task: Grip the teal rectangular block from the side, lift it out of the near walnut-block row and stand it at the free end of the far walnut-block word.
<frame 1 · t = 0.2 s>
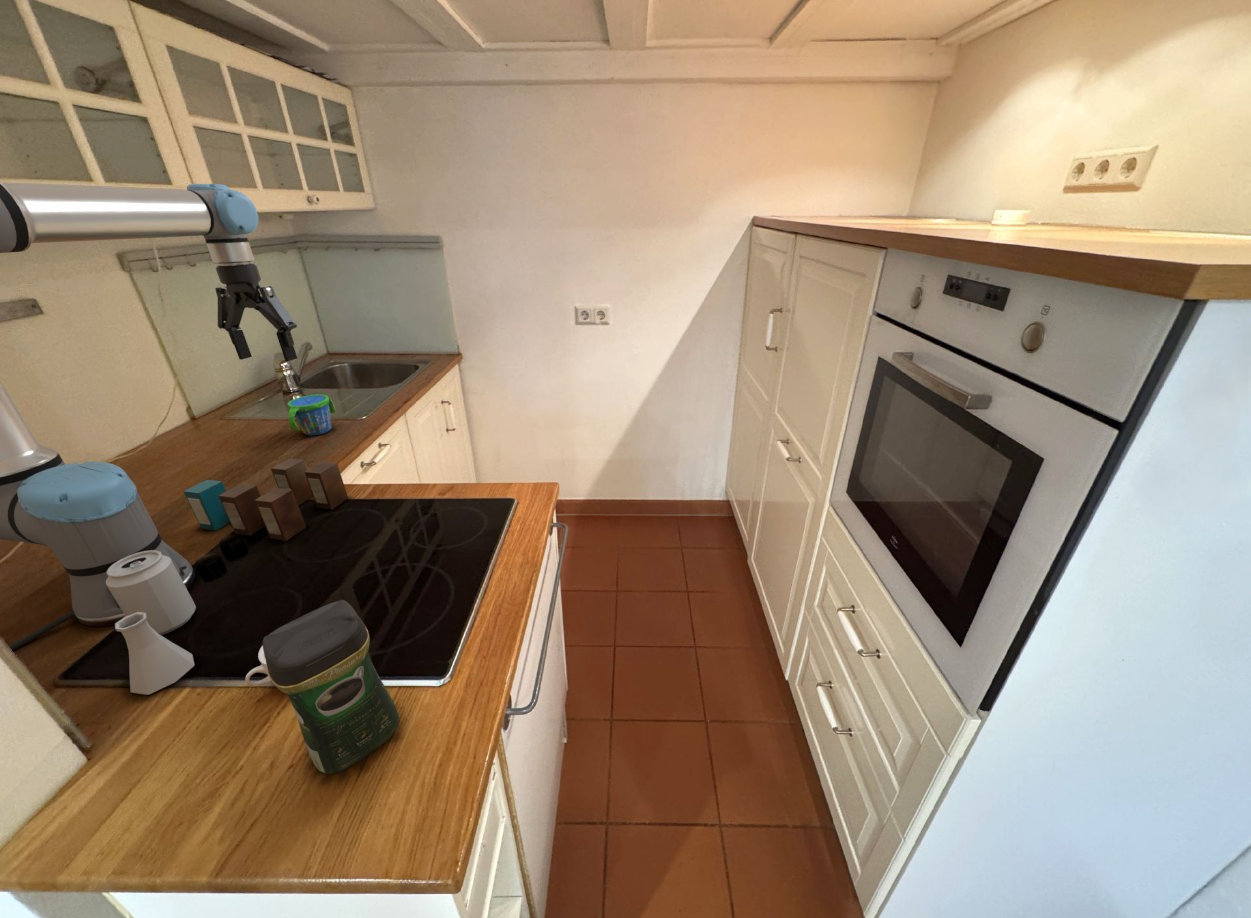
hand: (268, 359, 119), 28 cm above the worktop, tool pointing down, fingers open, 13 cm apart
left A: (253, 527, 104), on the worktop
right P: (332, 502, 112), on the worktop
flask: (164, 674, 70), on the worktop
coffee jar: (357, 738, 61), on the worktop
snack cup: (318, 432, 151), on the worktop
teacup: (296, 676, 69), on the worktop
brown wooden block: (288, 532, 102), on the worktop
right U: (300, 498, 114), on the worktop
teal rectangular block: (219, 523, 106), on the worktop
can: (169, 623, 80), on the worktop
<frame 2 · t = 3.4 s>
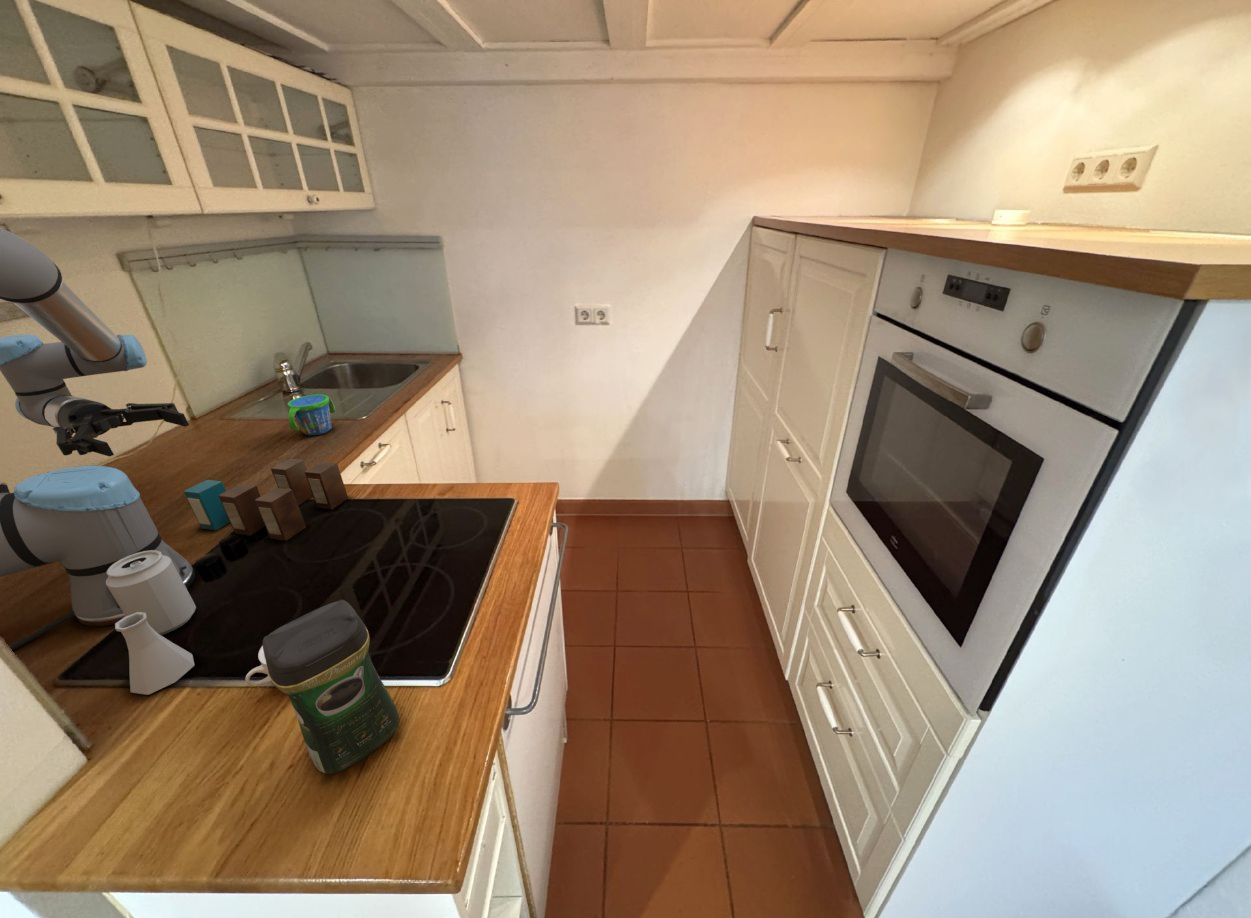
hand: (148, 434, 100), 20 cm above the worktop, tool horizontal, fingers open, 13 cm apart
nothing on the worktop moved.
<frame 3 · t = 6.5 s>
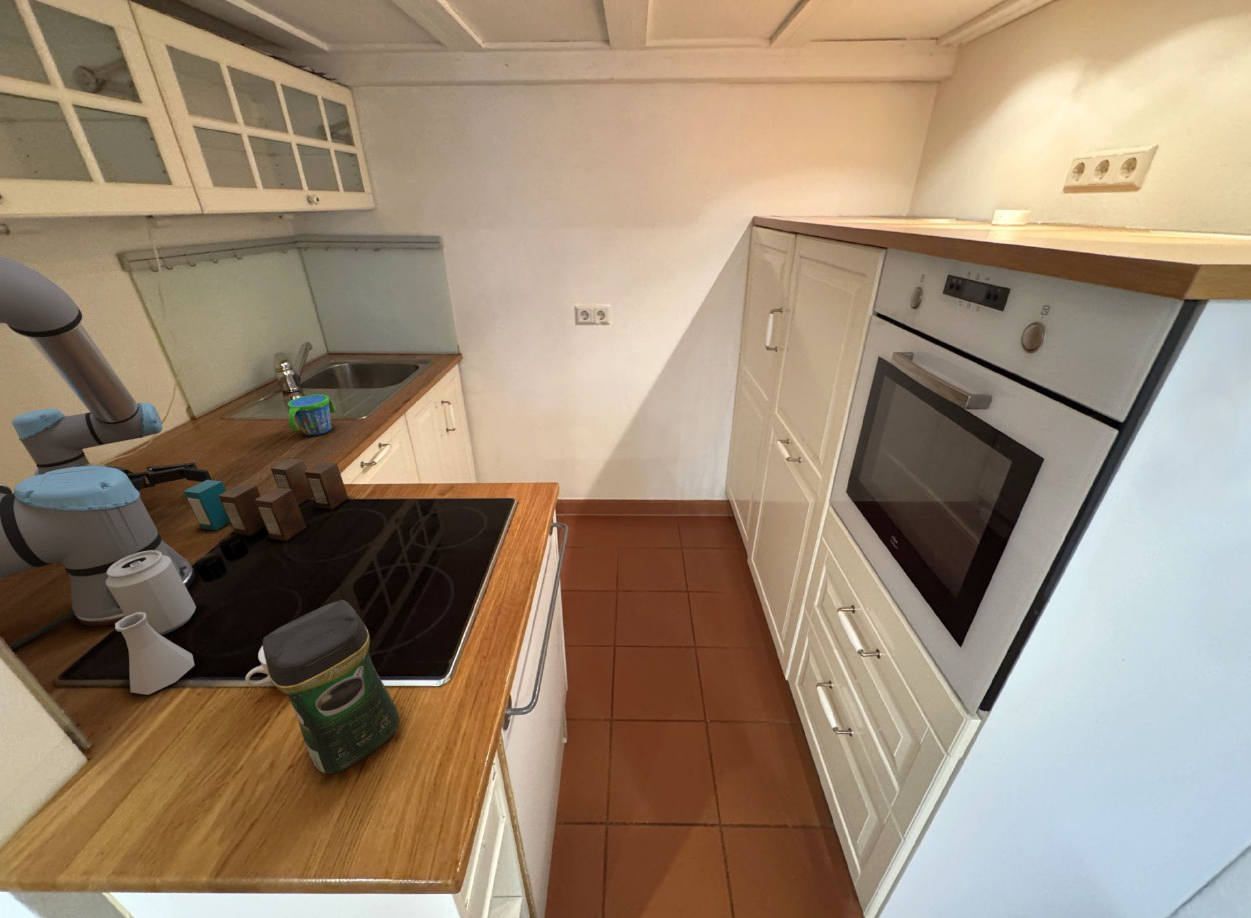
hand: (177, 491, 105), 7 cm above the worktop, tool horizontal, fingers open, 13 cm apart
nothing on the worktop moved.
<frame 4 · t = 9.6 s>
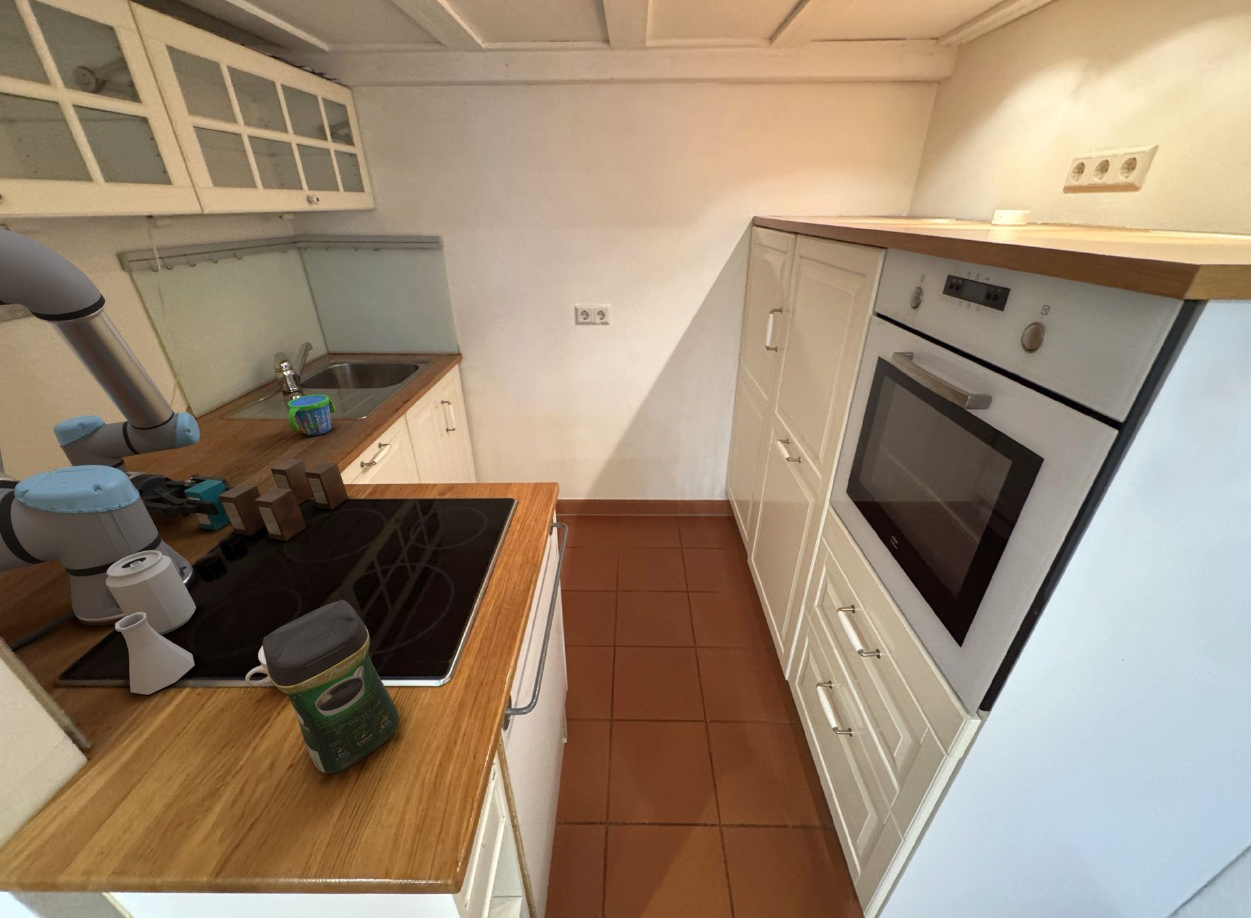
hand: (228, 501, 102), 6 cm above the worktop, tool horizontal, fingers closed on teal rectangular block, 5 cm apart
teal rectangular block: (220, 523, 106), on the worktop, touching gripper
everything else where it was.
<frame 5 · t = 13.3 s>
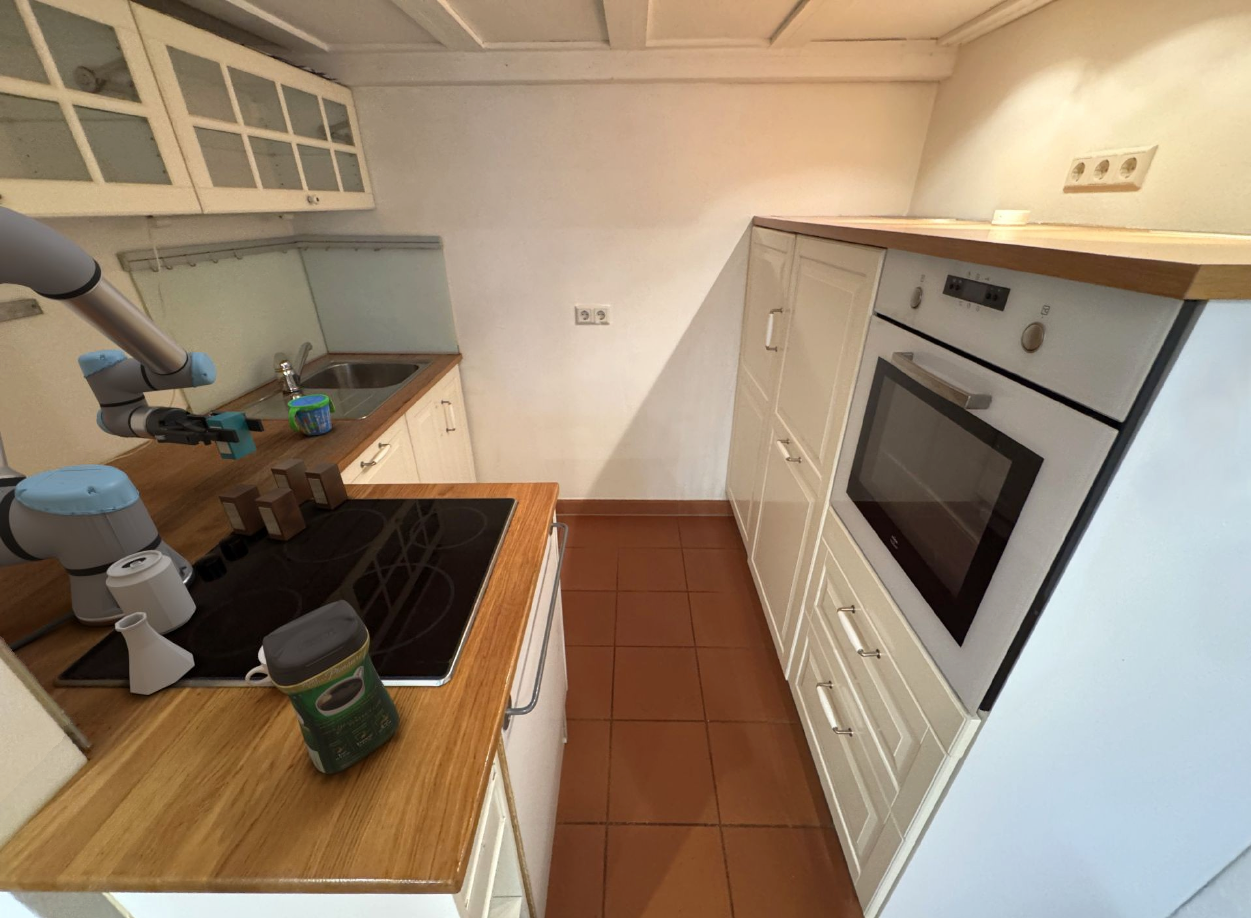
hand: (248, 430, 105), 18 cm above the worktop, tool horizontal, fingers closed on teal rectangular block, 5 cm apart
teal rectangular block: (239, 454, 109), point 12 cm above the worktop, touching gripper
everything else where it was.
when the fingers open (6 cm above the worktop, at t = 17.0 s): teal rectangular block stays where it is, on the worktop.
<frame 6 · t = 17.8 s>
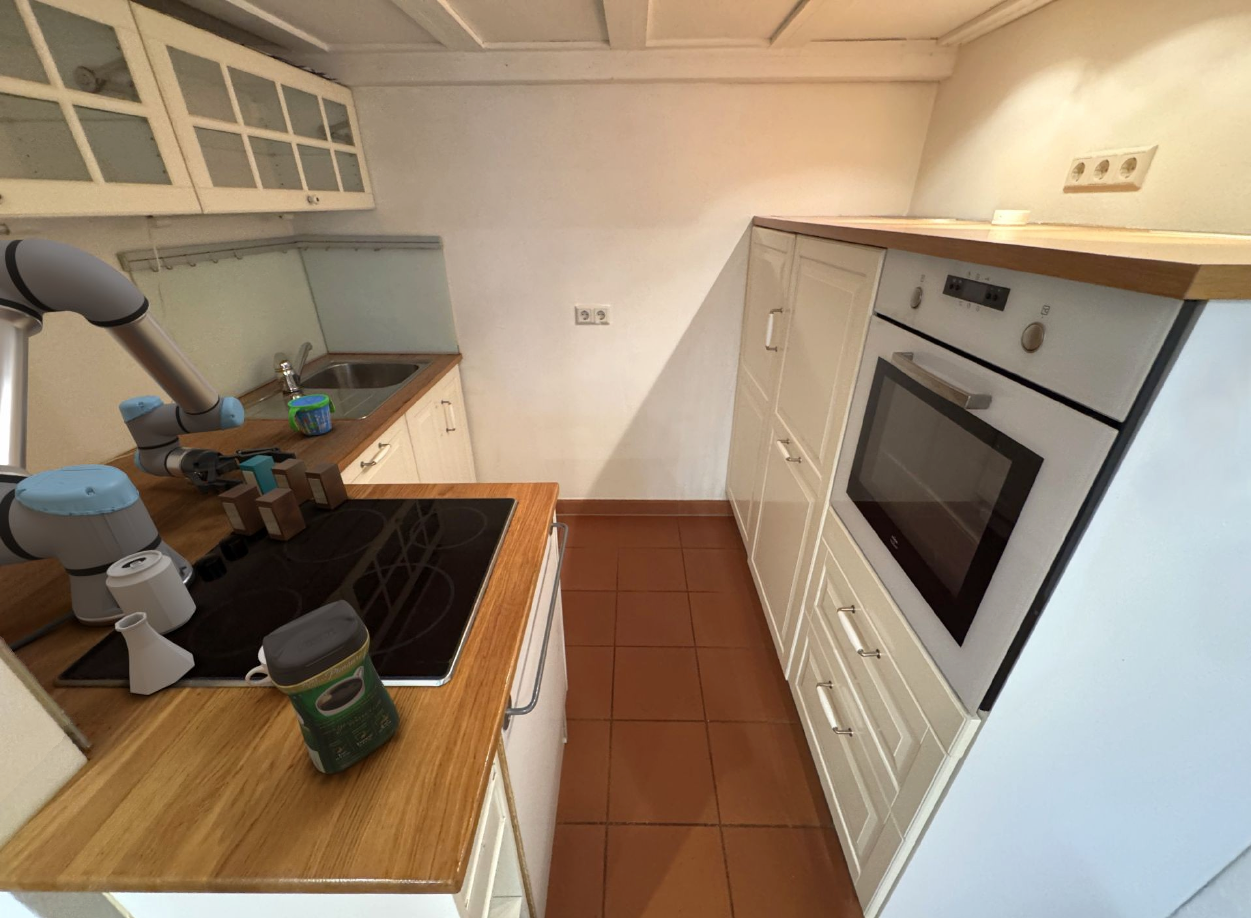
hand: (270, 471, 113), 6 cm above the worktop, tool horizontal, fingers open, 13 cm apart
teal rectangular block: (269, 494, 116), on the worktop
everything else where it was.
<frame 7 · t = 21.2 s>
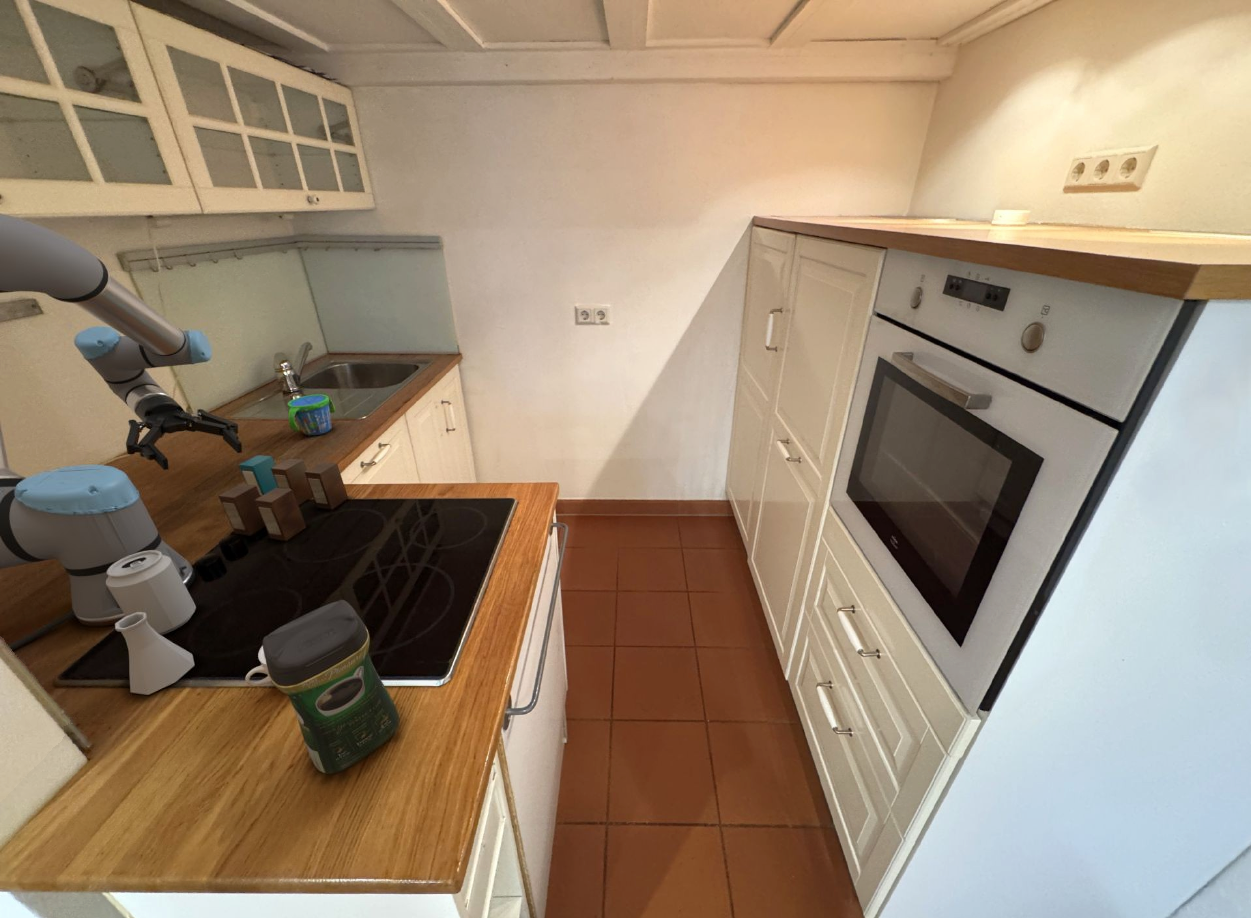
hand: (204, 456, 110), 11 cm above the worktop, tool tilted 70°, fingers open, 13 cm apart
nothing on the worktop moved.
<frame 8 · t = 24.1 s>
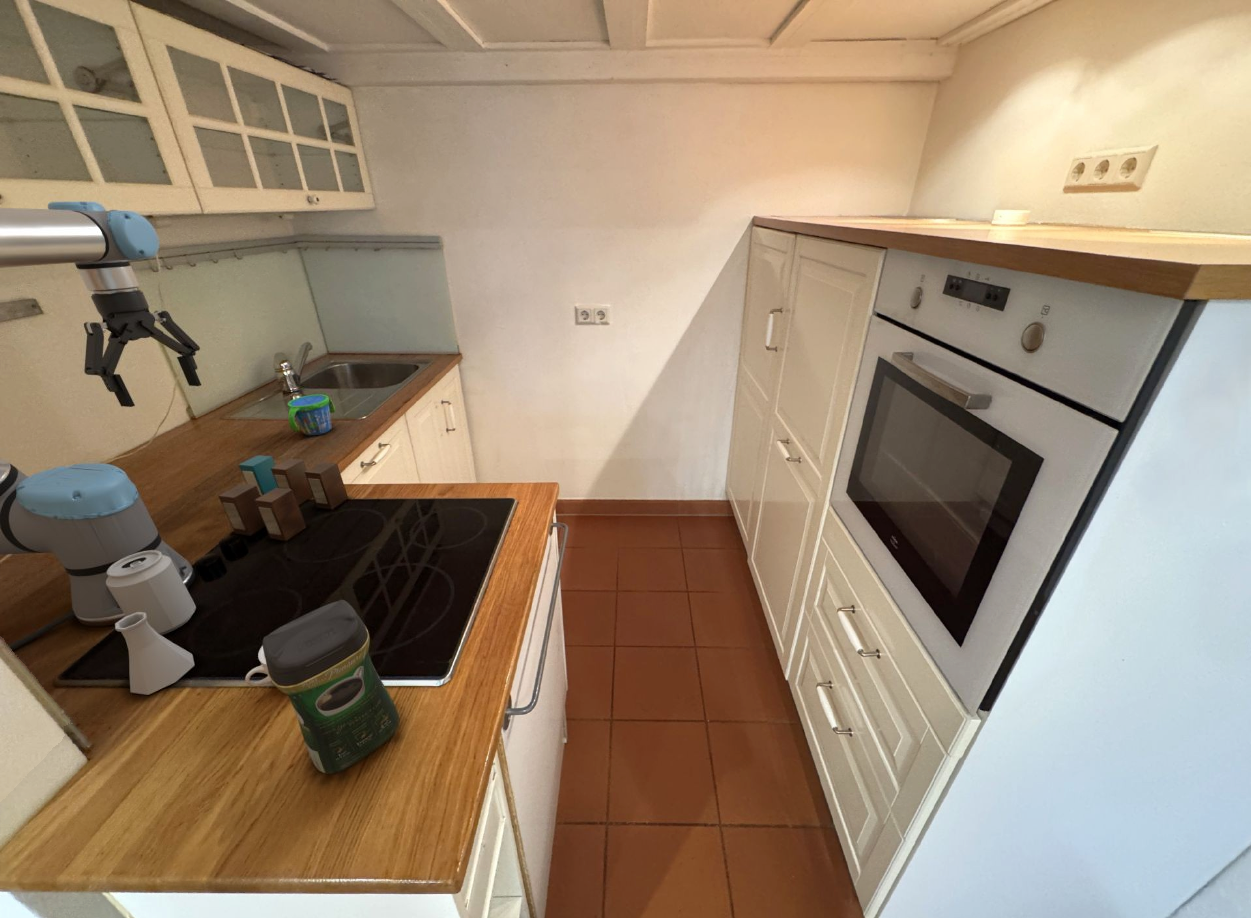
hand: (163, 395, 106), 25 cm above the worktop, tool pointing down, fingers open, 13 cm apart
nothing on the worktop moved.
at the end: teal rectangular block 0.1 cm from the target spot, on the worktop; teal rectangular block tilted 0°; right U moved 0.0 cm from its start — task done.
